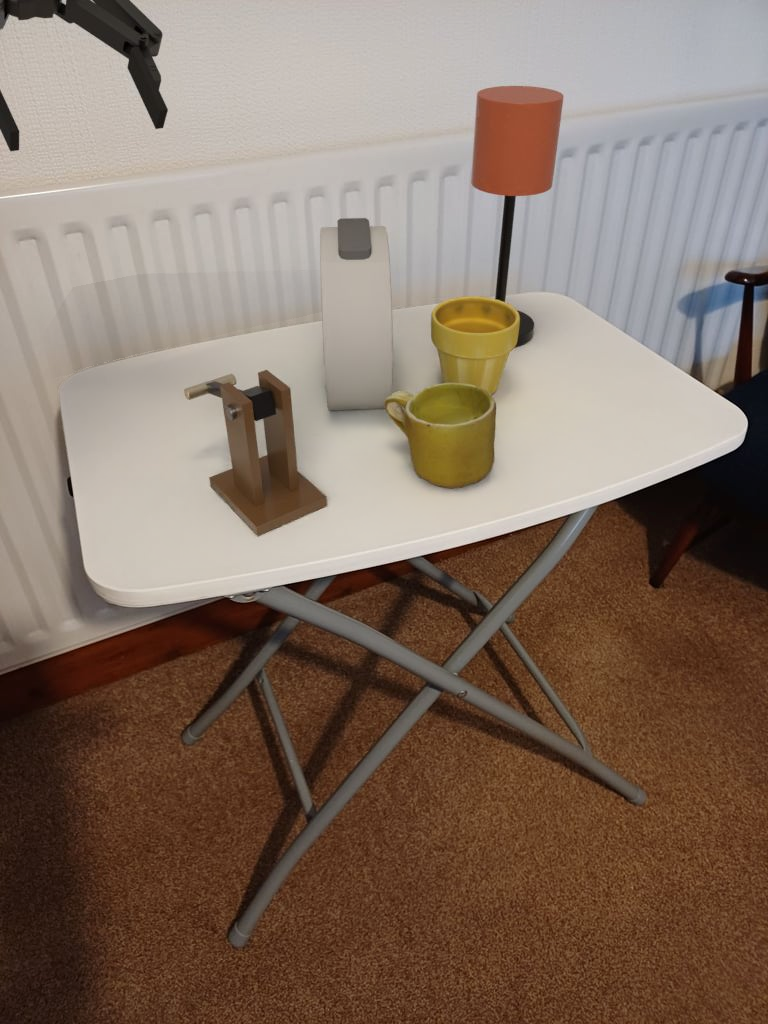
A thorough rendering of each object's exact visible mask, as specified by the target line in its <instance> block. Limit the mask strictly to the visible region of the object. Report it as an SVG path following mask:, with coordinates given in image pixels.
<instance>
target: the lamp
mask: <svg viewBox="0 0 768 1024" xmlns="http://www.w3.org/2000/svg"><path fill="white" fill-rule="evenodd" d="M475 103H476V104H475V117H474V133H473V147H472V148H473V149H472V162H471V163H472V164H471V176H470V177H471V178H470V179H471V180H470V183H471V185H472V187H474V188H475V189H476V190H478V191H481V192H484V193H486V194H491V195H497V196H504V199H503V207H502V209H503V210H502V220H501V231H500V232H501V233H500V242H499V251H498V253H499V254H498V264H497V273H496V284H495V285H496V286H495V295H494V299H496V300H500V301H503V302H505V303H506V298H507V289H508V288H507V287H508V279H509V278H508V277H509V268H510V258H511V249H512V237H513V229H514V220H515V219H514V218H515V207H516V198H517V197H528V196H535V195H540V194H543V193H546V192H548V191H549V190H551V189H552V188H553V182H554V174H555V166H556V159H557V151H558V144H559V135H560V129H561V120H562V114H563V113H562V111H563V105H564V94H563V93H561V92H560V91H558V90H555V89H551V88H546V87H541V86H529V85H528V86H527V85H501V86H492V87H487V88H483V89H480V90H479V91H477V92H476V102H475ZM516 310H517V311H518V313H519V315H520V325H519V333H518V339H517V344H516V346H515V347H514V348H517V347H521V346H524V345H526V344H528V343H529V342H530V341H531V340H532V339H533V336H534V331H535V321H534V320H533V318H532V317H531V316H530V315H529V314H527V313H525V312H524V311H520V310H518V309H516Z"/></svg>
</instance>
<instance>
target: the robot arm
mask: <svg viewBox="0 0 768 1024" xmlns="http://www.w3.org/2000/svg"><path fill="white" fill-rule="evenodd" d="M54 15H55V16H57V17H58V18H60V19H61V20H63V21H64V22H66V23H67V24H75V25H77V26H78V27H80V28H81V29H83V30H84V31H86V32H87V33H89V34H90V35H92V36H93V37H95V39H98V40H99V41H101V42H102V43H103V44H105V45H107V46H108V47H109V48H111V49H113V50H114V51H116V52H117V53H119V54H120V55H122V56H123V57H125V58H126V59H128V62H127V71H128V73H129V74H130V77H131V79H132V81H133V83H134V86H135V88H136V89H137V92H138V94H139V96H140V98H141V100H142V103H143V105H144V107H145V110H146V111H147V113H148V116H149V118H150V121H151V122H152V125H153V127H154V128H155V130H158V129H159V130H160V129H164V127H165V122H166V118H167V115H168V111H169V109H168V107H167V105H166V102H165V100H164V98H163V95H162V93H161V91H160V87H161V83H162V74H161V72H160V71H159V68H158V66H157V64H156V62H155V60H154V57H158V55H159V52H160V48H161V44H162V40H163V35H164V34H163V32H162V30H161V29H160V28H159V27H158V26H157V25H156V24H155V23H154V22H153V21H152V20H150V18H149V17H147V16H146V15H145V13H144V12H142V10H140V9H139V7H138V6H136V5H135V4H134V3H133V2H132V1H131V0H65V3H64V2H63V0H0V31H1V30H3V29H4V27H5V26H6V24H7V21H8V19H9V17H10V16H11V17H13V18H17V19H18V21H28V20H31V19H33V18H40V19H53V18H54ZM0 133H1V134H2V136H3V139H4V141H5V143H6V145H7V147H8V149H9V151H10V152H16V151H17V152H18V151H20V129H19V128H18V125H17V123H16V120H15V118H14V116H13V114H12V112H11V110H10V108H9V105H8V103H7V101H6V99H5V97H4V95H3V93H2V91H1V89H0Z"/></svg>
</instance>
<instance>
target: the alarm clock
mask: <svg viewBox="0 0 768 1024" xmlns="http://www.w3.org/2000/svg"><path fill="white" fill-rule="evenodd" d="M336 223H337V226H323V227H321V228H320V232H319V238H320V239H319V255H320V257H319V258H320V263H319V264H320V292H321V293H320V295H321V296H320V297H321V319H322V322H321V323H322V342H323V343H322V344H323V362H324V363H323V364H324V377H325V378H324V379H325V394H326V406H327V410H328V411H354V410H355V411H356V410H357V411H358V410H359V411H360V410H386V408H385V405H384V403H385V400H386V399H387V398H388V397H389V396H391V395H392V394H393V371H394V370H393V369H394V368H393V366H394V364H393V363H394V359H393V358H394V357H393V356H394V355H393V353H394V351H393V349H394V348H393V347H394V346H393V345H394V343H393V342H394V341H393V339H394V338H393V337H394V336H393V335H394V334H393V332H394V331H393V298H392V297H393V296H392V276H391V273H392V272H391V259H390V258H391V257H390V245H389V238H388V236H389V235H388V232H387V228H386V226H385V225H375V226H374V225H372V226H370V220H369V219H368V218H366V217H351V218H349V217H348V218H339V219H338V220H337V222H336Z"/></svg>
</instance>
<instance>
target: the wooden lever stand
mask: <svg viewBox="0 0 768 1024" xmlns="http://www.w3.org/2000/svg"><path fill="white" fill-rule="evenodd" d="M257 379H258V386H260V387H263V388H266V389H269V390H271V393H272V397H273V401H274V405H275V409H276V414H275V415H272V416H270V417H267V418H264V419H262V421H263V430H264V431H263V432H264V440H265V448H266V455H263V456H260V455H259V454H260V453H259V447H258V446H259V445H258V439H257V438H258V437H257V429H256V421H254V413H253V404H252V401H251V400H250V399H249V398H248V397H246V396H245V395H244V394H243V393H242V392H241V391H239V390H238V389H239V388H237V387H236V386H235V385H232V384H231V383H230V382H228V383H225V384H222V385H220V389H221V396H222V398H221V402H222V409H223V416H224V422H225V429H226V433H227V434H226V435H227V442H228V449H229V455H230V461H231V468H230V469H227V470H224V471H221V472H219V473H217V474H215V475H212V476H209V477H208V479H209V485H210V488H211V489H212V490H213V491H214V492H215V493H216V494H217V495H218V496H219V497H220V498H221V500H223V502H225V504H227V506H229V508H230V509H231V510H232V511H233V512H234V513H235V515H237V516H238V518H239V519H241V521H243V523H245V525H246V526H247V527H248V528H249V529H250V530H251V531H252V532H253V533H254V535H256V536H257V537H259V536H262V535H264V534H266V533H268V532H269V533H270V532H271V531H273V530H275V529H277V528H280V527H283V526H284V525H287V524H289V523H292V522H294V521H296V520H298V519H300V518H303V517H305V516H307V515H309V514H312V513H314V512H316V511H319V510H321V509H323V508H326V507H328V500H327V499H328V498H327V496H326V495H325V494H324V492H322V491H321V490H320V489H318V488H317V487H316V486H315V485H314V484H313V483H312V482H311V481H310V480H308V479H307V478H306V477H305V476H304V475H303V474H302V473H301V472H299V470H298V462H297V449H296V448H297V447H296V439H295V427H294V414H293V404H292V403H293V401H292V390H291V387H290V386H288V385H287V384H286V383H285V382H284V381H282V380H281V379H279V378H278V377H277V376H276V375H275V374H273V373H272V372H271V371H269V370H268V369H264V370H261V371H259V372H257Z"/></svg>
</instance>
